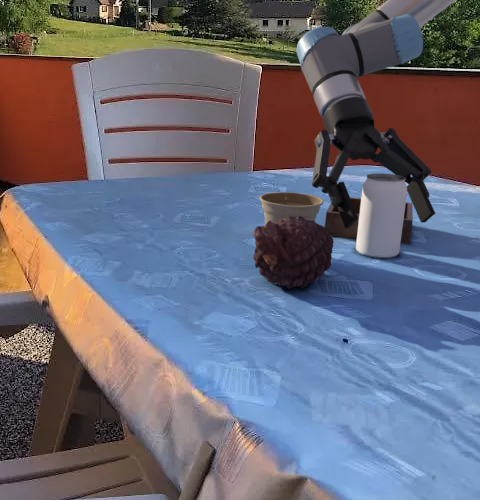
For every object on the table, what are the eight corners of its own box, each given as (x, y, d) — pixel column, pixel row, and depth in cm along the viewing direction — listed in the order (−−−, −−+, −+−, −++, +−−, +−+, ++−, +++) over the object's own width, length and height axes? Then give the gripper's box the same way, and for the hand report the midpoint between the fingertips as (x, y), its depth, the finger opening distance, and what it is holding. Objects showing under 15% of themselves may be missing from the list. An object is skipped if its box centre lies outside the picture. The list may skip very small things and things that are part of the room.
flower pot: (320, 264, 104) (325, 207, 102) (255, 260, 106) (259, 203, 103) (316, 246, 113) (321, 193, 110) (256, 242, 114) (260, 190, 112)
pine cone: (280, 257, 107) (323, 207, 103) (325, 304, 102) (372, 253, 98) (215, 251, 93) (262, 192, 89) (264, 304, 88) (315, 245, 84)
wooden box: (409, 224, 128) (412, 202, 126) (409, 244, 115) (412, 220, 114) (331, 216, 132) (334, 195, 131) (324, 235, 120) (326, 212, 119)
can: (358, 244, 114) (367, 171, 111) (401, 250, 112) (411, 175, 108) (352, 255, 109) (360, 178, 105) (396, 261, 106) (406, 182, 103)
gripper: (395, 122, 123) (444, 228, 114) (266, 125, 115) (307, 238, 106) (420, 93, 116) (473, 203, 107) (285, 95, 109) (330, 212, 100)
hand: (390, 221), depth 107 cm, fingers open, 13 cm apart
